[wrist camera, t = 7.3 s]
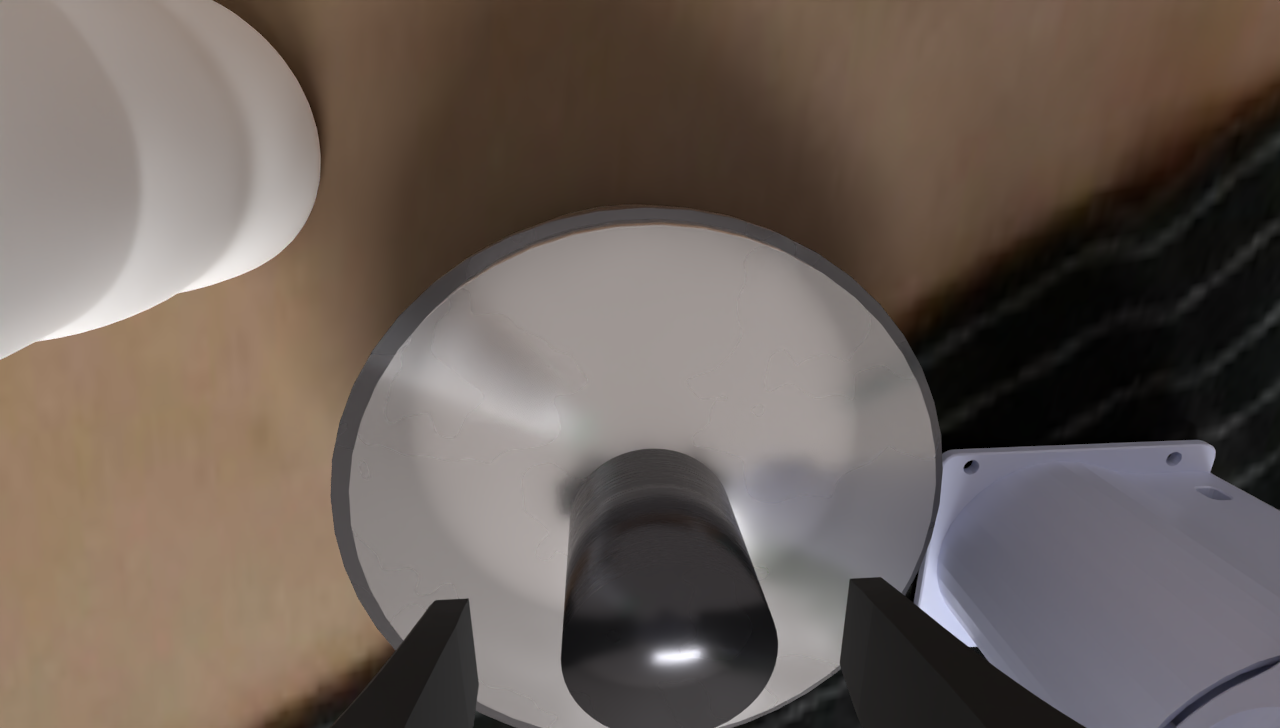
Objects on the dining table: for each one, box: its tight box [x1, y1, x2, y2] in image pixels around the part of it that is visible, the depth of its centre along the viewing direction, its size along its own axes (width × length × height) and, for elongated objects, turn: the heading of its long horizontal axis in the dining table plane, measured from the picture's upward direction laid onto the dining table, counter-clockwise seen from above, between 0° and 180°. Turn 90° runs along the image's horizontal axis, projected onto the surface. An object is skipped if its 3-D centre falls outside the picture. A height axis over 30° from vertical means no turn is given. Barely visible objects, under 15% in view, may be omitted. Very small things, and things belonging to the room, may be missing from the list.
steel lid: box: [349, 218, 936, 728], centre depth 13 cm, size 13×13×5 cm
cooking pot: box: [331, 204, 943, 728], centre depth 18 cm, size 15×15×5 cm
